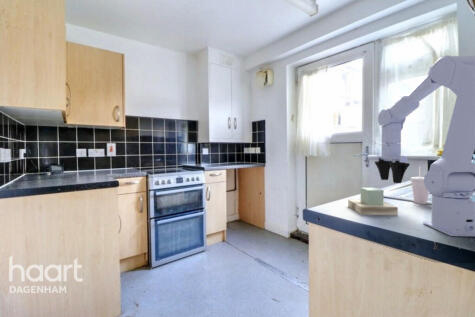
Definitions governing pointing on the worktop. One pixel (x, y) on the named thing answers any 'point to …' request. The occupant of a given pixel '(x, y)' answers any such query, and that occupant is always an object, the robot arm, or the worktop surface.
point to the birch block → (373, 208)
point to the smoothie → (419, 189)
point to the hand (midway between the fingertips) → (390, 181)
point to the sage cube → (372, 196)
